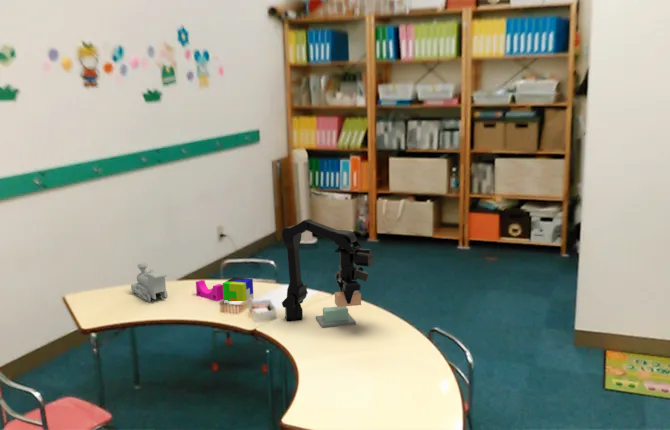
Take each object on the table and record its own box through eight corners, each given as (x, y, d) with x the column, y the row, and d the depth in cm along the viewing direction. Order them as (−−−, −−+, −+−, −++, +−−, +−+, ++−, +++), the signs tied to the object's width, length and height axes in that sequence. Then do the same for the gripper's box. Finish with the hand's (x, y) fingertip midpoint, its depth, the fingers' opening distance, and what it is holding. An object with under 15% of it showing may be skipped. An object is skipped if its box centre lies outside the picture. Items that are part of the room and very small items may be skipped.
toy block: (227, 299, 293) (227, 283, 291) (217, 302, 288) (216, 286, 287) (207, 293, 302) (206, 278, 301) (196, 296, 297) (195, 281, 296)
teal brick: (325, 322, 255) (325, 311, 254) (322, 318, 259) (322, 307, 259) (348, 319, 257) (348, 309, 256) (345, 315, 262) (345, 305, 261)
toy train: (150, 288, 313) (148, 259, 310) (174, 300, 291) (171, 269, 289) (128, 293, 306) (126, 263, 303) (151, 306, 285) (148, 274, 282)
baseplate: (322, 328, 251) (322, 325, 251) (315, 318, 262) (315, 316, 262) (355, 324, 254) (355, 321, 254) (348, 314, 266) (348, 312, 266)
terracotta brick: (337, 306, 247) (337, 296, 246) (334, 303, 252) (334, 292, 251) (361, 305, 249) (361, 294, 248) (357, 301, 254) (357, 290, 253)
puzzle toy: (253, 299, 290) (252, 278, 289) (243, 306, 281) (242, 284, 279) (234, 297, 294) (233, 277, 292) (223, 304, 284) (222, 283, 283)
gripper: (373, 268, 240) (373, 307, 243) (360, 256, 258) (360, 293, 261) (345, 270, 238) (345, 309, 241) (334, 258, 256) (334, 295, 258)
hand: (347, 301), depth 250 cm, fingers closed on terracotta brick, 5 cm apart
